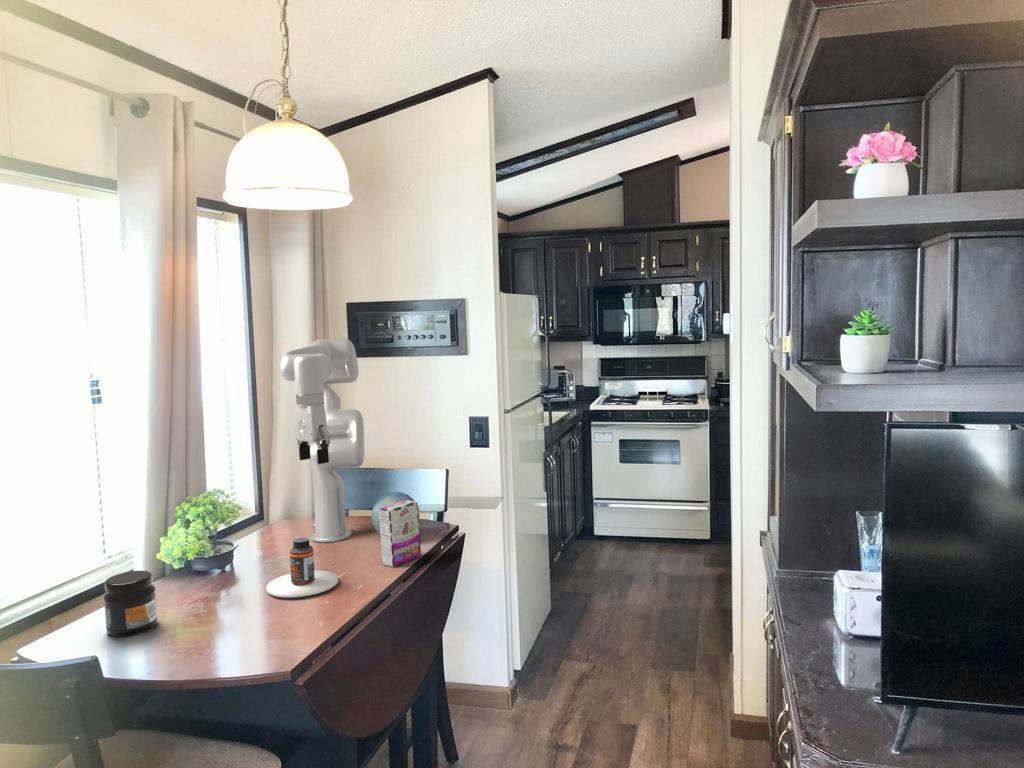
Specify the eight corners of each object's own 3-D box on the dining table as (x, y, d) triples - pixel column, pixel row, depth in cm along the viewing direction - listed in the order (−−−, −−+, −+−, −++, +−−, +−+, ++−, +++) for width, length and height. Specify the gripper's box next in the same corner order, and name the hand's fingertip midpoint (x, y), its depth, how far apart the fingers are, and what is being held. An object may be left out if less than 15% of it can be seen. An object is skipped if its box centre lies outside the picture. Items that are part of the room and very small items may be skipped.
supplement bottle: (286, 583, 185) (283, 541, 184) (303, 576, 190) (301, 535, 189) (302, 587, 182) (300, 543, 181) (319, 579, 187) (317, 537, 187)
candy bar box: (409, 554, 210) (406, 499, 209) (421, 556, 207) (418, 501, 206) (380, 565, 201) (377, 507, 200) (393, 568, 198) (390, 510, 197)
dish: (254, 588, 186) (253, 584, 186) (315, 570, 199) (315, 565, 199) (288, 605, 173) (287, 600, 173) (351, 584, 186) (351, 580, 186)
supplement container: (164, 627, 163) (160, 576, 162) (113, 642, 156) (109, 589, 155) (150, 615, 171) (146, 566, 170) (100, 629, 164) (96, 578, 163)
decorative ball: (426, 532, 232) (423, 486, 231) (413, 546, 217) (410, 498, 216) (381, 532, 234) (379, 487, 233) (365, 546, 219) (363, 498, 218)
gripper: (282, 400, 201) (286, 460, 202) (314, 403, 188) (318, 467, 190) (306, 397, 206) (310, 456, 207) (339, 400, 194) (342, 462, 195)
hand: (314, 461), depth 199 cm, fingers open, 9 cm apart
